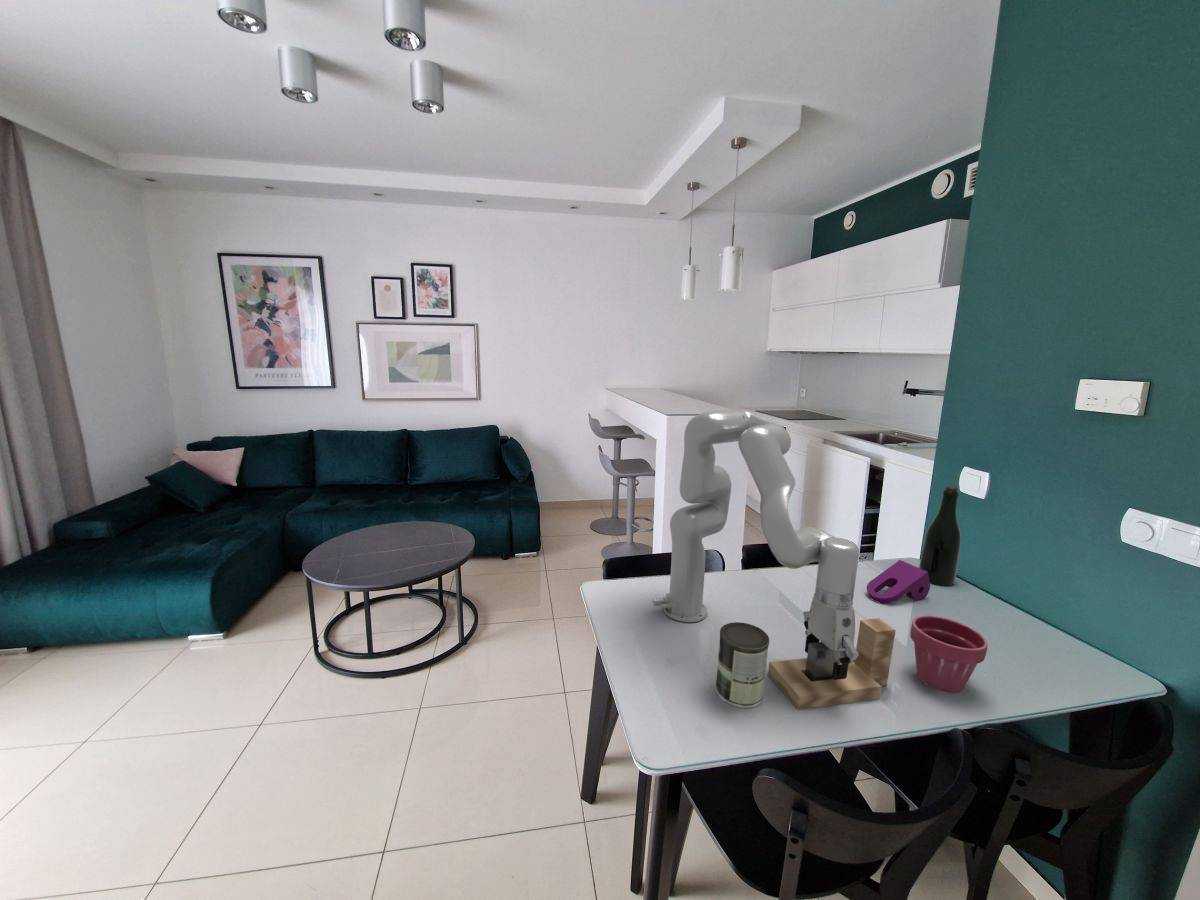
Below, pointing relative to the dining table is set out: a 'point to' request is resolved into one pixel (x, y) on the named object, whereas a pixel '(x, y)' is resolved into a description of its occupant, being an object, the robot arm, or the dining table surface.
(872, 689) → the wooden slotted base
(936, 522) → the beer bottle
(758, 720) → the dining table surface
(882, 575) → the mounting bracket
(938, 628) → the plant pot
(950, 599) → the dining table surface
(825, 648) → the tall grey upright slab
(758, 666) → the coffee can
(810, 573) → the dining table surface
